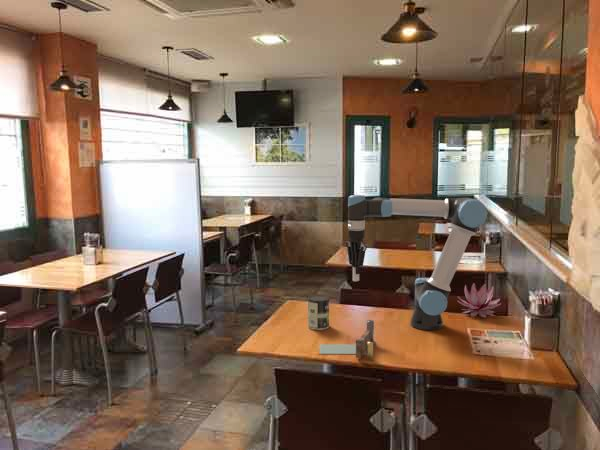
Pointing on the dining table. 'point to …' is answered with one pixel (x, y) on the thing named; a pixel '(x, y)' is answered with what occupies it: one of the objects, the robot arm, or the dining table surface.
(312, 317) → the coffee can
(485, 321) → the dining table surface
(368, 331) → the gate
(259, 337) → the dining table surface
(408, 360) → the dining table surface
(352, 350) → the mat
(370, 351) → the post
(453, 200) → the robot arm
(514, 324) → the dining table surface
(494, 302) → the decorative flower
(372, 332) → the hinge post
